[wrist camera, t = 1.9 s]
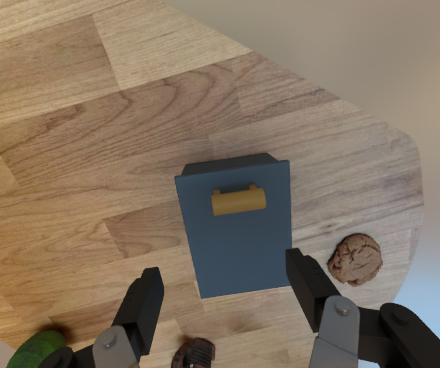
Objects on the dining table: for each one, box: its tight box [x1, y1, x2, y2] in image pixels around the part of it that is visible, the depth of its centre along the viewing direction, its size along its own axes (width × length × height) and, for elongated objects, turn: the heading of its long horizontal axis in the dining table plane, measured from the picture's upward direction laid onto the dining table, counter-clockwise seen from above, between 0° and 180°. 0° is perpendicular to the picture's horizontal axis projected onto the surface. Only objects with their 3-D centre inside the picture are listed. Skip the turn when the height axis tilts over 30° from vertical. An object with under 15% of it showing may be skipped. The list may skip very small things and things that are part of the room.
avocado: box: [6, 330, 66, 368], centre depth 36 cm, size 8×8×12 cm
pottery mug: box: [171, 338, 215, 368], centre depth 43 cm, size 12×10×8 cm
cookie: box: [328, 234, 383, 287], centre depth 38 cm, size 10×11×3 cm
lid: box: [174, 160, 292, 299], centre depth 24 cm, size 18×13×5 cm
